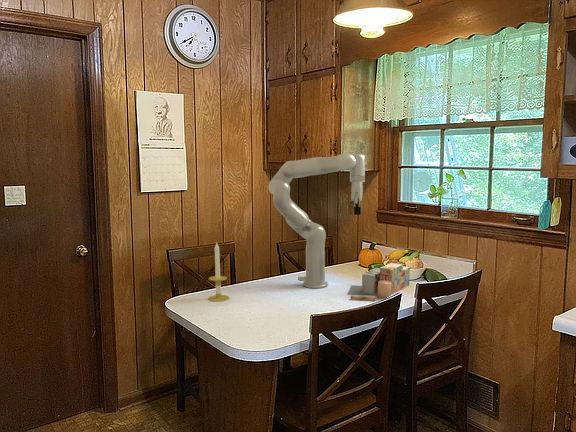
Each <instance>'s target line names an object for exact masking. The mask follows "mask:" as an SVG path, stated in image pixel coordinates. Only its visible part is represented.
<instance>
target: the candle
mask: <svg viewBox="0 0 576 432" xmlns="http://www.w3.org/2000/svg"><path fill="white" fill-rule="evenodd" d="M220 258H221V257H220V246H219V245H218V242H215V246H214V268H215V270H214V271H215V275H213V276H210V277H209V278H208V281H211V282H215V295H211V296H209V297H208V298H207V300H208V301H210V302H216V303H218V302H220V303H221V302H226V301H228V300H229V299H230V296H228V295H226V294H222V281H225V280H226V281H227V279H228V277H227V276H225V275H221V262H220V261H221V260H220Z"/></svg>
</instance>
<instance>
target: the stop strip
mask: <svg viewBox="0 0 576 432" xmlns="http://www.w3.org/2000/svg"><path fill="white" fill-rule="evenodd" d="M350 301H364V302H365V301H369V302H376V296H368V295H350Z"/></svg>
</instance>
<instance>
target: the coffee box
mask: <svg viewBox="0 0 576 432" xmlns="http://www.w3.org/2000/svg"><path fill="white" fill-rule="evenodd" d="M361 278H362V279H361V286H362V293H368V294H375V293H377V291H378V281H380V268H379V267H375V268H372V269H370V270H368V271H366V272H364V273H362V275H361Z"/></svg>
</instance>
